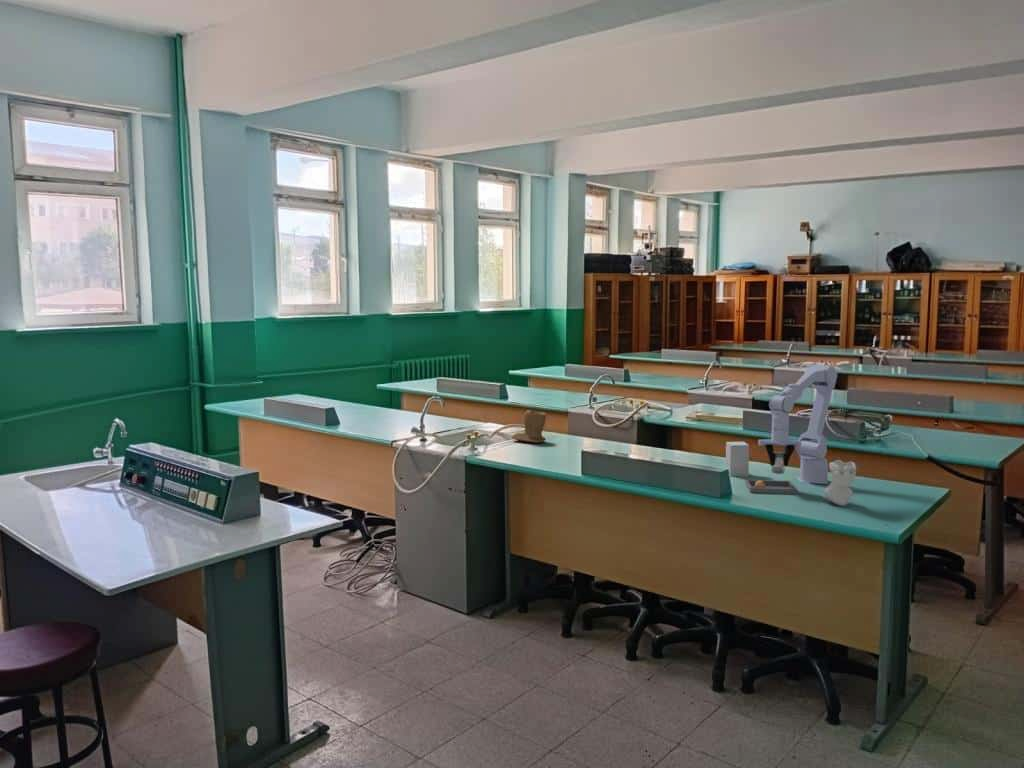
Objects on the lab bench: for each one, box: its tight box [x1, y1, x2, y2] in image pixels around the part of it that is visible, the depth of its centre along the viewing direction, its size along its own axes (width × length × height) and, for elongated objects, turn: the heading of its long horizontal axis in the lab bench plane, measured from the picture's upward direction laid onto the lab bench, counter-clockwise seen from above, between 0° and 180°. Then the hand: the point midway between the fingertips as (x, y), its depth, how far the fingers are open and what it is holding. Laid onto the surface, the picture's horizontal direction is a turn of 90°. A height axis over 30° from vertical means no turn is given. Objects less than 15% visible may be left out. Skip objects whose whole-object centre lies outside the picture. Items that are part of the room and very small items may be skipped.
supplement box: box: [725, 441, 750, 477], centre depth 308 cm, size 7×7×13 cm
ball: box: [755, 481, 765, 488], centre depth 284 cm, size 4×4×4 cm
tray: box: [744, 479, 798, 495], centre depth 286 cm, size 16×12×2 cm
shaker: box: [771, 451, 786, 475], centre depth 286 cm, size 5×5×7 cm
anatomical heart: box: [823, 459, 857, 507], centre depth 265 cm, size 10×11×15 cm
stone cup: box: [511, 409, 547, 443], centre depth 375 cm, size 15×12×15 cm
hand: (778, 465), depth 286 cm, fingers closed on shaker, 4 cm apart
